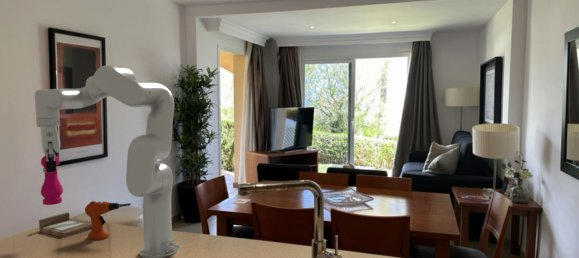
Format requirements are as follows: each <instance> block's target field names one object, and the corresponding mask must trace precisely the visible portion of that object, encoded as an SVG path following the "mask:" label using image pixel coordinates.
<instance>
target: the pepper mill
mask: <svg viewBox="0 0 579 258" xmlns="http://www.w3.org/2000/svg"><path fill="white" fill-rule="evenodd" d="M47 153H49V152H47ZM46 161H47V160H46V156H45V155H44V156H43V157H42V158H41V161H40V163H41V164H40V165H41V166H42V167H43V168H42V172H43V173H44V179H43V184H42V185H41V188H40V189H41V191H40V195H41V196H42V205H44V206H52V205H53V206H55V205H58V204H61V203H62V202H63V197H62V196H61V195H63V192H64V188H63V185H62V184H61V181H60V180H59V176H58V172H59V166H58V165H60V158H59V156H57V154H55V161H56V172H46Z"/></svg>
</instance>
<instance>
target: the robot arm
mask: <svg viewBox="0 0 579 258" xmlns="http://www.w3.org/2000/svg"><path fill="white" fill-rule="evenodd" d="M109 97H111V98H113V99H115V100H117V101H118V102H120V103H121V104H124V105H125V106H129V107H132V108H142V107H144V108H145V107H150V111H149V114H148V116H147V120H146V130H145V134H141V135H138V136H136V137H134V138H133V140H131V142H129V143H130V144H129V145H128V148H127V149H128V150H127V160H126V175H125V176H126V177H125V179H126V182H125V183H126V187H127V190H128V192H129V193H130V194H131V196H134V197H137V198H142V199H143V200H142V223H143V224H142V225H143V227H142V228H143V230H142V231H143V246H142V247H141V249H139V256H140V257H142V258H167V257H170V256H172V255H174V254H175V253H177V252H178V249H180V244H175V239H174V238H173V226H172V224H173V223H172V221H173V220H172V191H173V184H174V183H173V182H174V173H173V171H172V169H171V168H170V166H169V165H167V164H165V163H162V162H159V161H162V160H164V159H167V158H168V157H169V156H170V154H171V151H172V140H173V139H172V138H173V123H174V122H173V121H174V115H175V114H174V113H175V100H174V95H173V94H172V92H171V91H170V89H168V88H167V87H166V86H165V85H163V84H161V83H159V82H155V81H140V80H139V81H138V80H136V75H135V73H134V72H133V71H132V69H129V68H128V67H125V66H119V65H118V66H117V65H103V66H100V67H99V68H97V69H96V71H95V72H94V75H92V76H89V77H88V78H87V79H86V81H85V86H83V87H79V88H51V89H44V88H43V89H37V90H36V91H35V92H34V103H35V121H36V122H35V123H36V128H40V137H41V138H40V139H41V140H40V141H41V147H42V151H43V154H45V155H44V156H46V160H47V161H46V172H56V161H55V155H56V153H57V154H58V153H59V152H60V150H59V149H60V148H59V133H58V127H60V126H61V122H60V121H61V120H60V118H61V117H60V110H72V109H73V110H77V109H82V108H87V107H89V106H92V105H94V104H95V105H96V104H97V103H99V102H100V101H101V100H102V99H106V98H109ZM47 152H49V153H47Z"/></svg>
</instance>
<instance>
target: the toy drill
mask: <svg viewBox="0 0 579 258" xmlns="http://www.w3.org/2000/svg"><path fill="white" fill-rule="evenodd" d="M130 206H132V204H131V203H130V202H129V203H119V202H109V201H102V202H101V201H93V200H92V201H90V202H89V203H88V204H87V205H86V206H85V208H84V212H85V214H86V215H87V217H89V218H90V222H91V224H92V228H91V229H90V232H88V234H87V239H88V240H91V241H94V240H95V241H101V240H102V241H103V240H106V239H108V238H109V236H110V233H107V232H106V231H104V227H103V226H104V225H105V224H106V223H107V221H106V220H105V218H104V217H103V216H102V215H104V214H107V213H108V212H112V211H114V210H118V209H120V208H122V207H130Z"/></svg>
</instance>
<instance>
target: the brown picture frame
mask: <svg viewBox="0 0 579 258" xmlns="http://www.w3.org/2000/svg"><path fill="white" fill-rule="evenodd" d="M38 224H39V225H38V226H39V232H40V233H44V234H49V235H52V236H56V237H59V238H63V239H65V238H68V237H70V236H71V237H72V236H73V235H77V234H80V233H83V232H86V231H88V230H91V228H92V223H91V224H90V223H86V222H82V221H77V220H72V219H71V218H70V212H63V213H60V214H56V215H52V216H49V217H45V218H42V219H39V220H38Z"/></svg>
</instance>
